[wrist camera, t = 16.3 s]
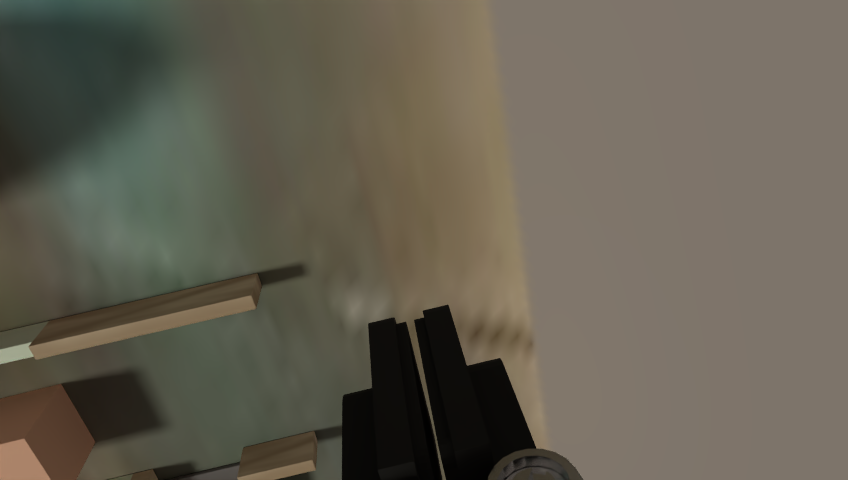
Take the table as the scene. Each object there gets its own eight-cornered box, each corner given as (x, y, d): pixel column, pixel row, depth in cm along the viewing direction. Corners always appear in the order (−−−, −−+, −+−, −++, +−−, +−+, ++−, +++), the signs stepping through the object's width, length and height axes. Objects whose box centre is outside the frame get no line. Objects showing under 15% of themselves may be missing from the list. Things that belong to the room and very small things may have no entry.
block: (-17, 402, 43) (-65, 460, 38) (61, 383, 43) (24, 438, 38) (22, 459, 45) (-19, 521, 40) (95, 441, 45) (64, 501, 40)
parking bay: (49, 320, 41) (28, 346, 38) (257, 273, 41) (251, 295, 38) (167, 536, 50) (157, 569, 47) (337, 495, 50) (336, 526, 47)
